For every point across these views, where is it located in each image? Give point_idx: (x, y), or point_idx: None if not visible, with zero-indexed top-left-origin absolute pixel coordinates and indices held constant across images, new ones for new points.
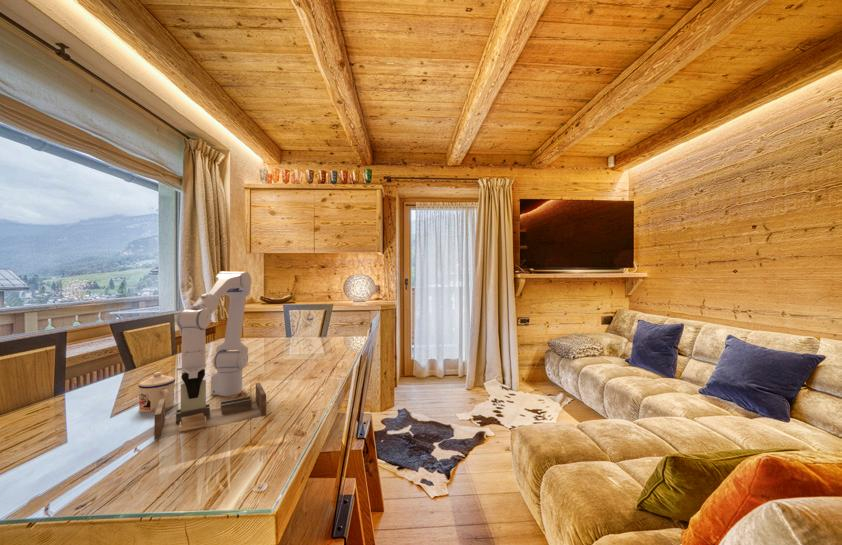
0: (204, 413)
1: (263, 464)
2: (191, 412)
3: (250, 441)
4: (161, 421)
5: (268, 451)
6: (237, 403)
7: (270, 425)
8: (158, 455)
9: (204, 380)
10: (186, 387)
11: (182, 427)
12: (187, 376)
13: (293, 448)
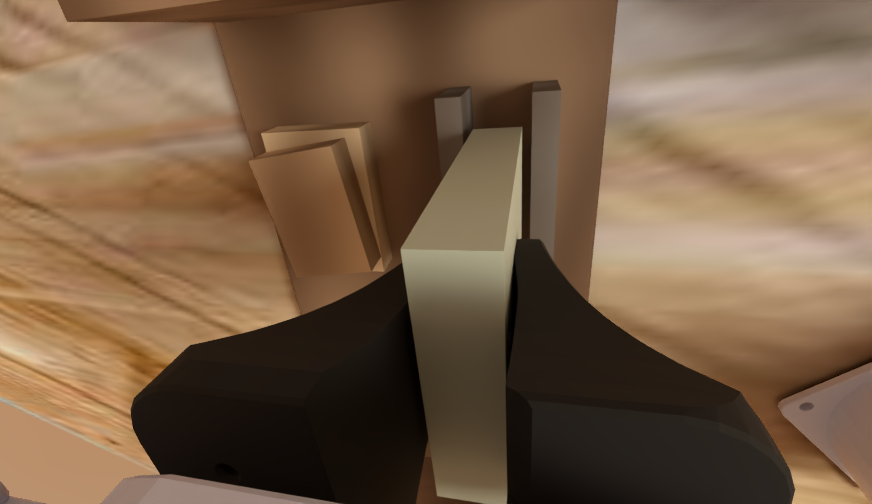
0: None
1: (27, 362)
2: None
3: (164, 365)
4: (236, 12)
5: (94, 387)
6: None
7: None
8: (83, 50)
9: (456, 489)
10: (351, 293)
11: (268, 151)
12: (152, 459)
13: (107, 431)
